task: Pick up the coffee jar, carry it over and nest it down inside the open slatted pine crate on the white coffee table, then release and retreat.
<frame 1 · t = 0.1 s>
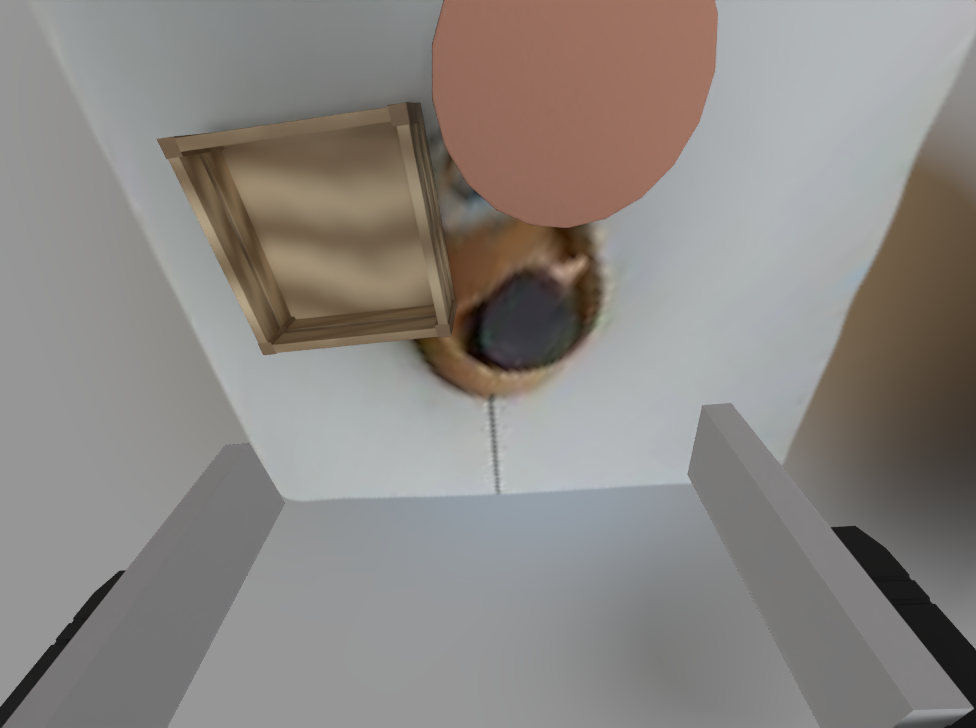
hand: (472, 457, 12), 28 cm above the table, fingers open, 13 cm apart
pine crate: (346, 229, 36), on the table
coffee jar: (532, 94, 30), on the table
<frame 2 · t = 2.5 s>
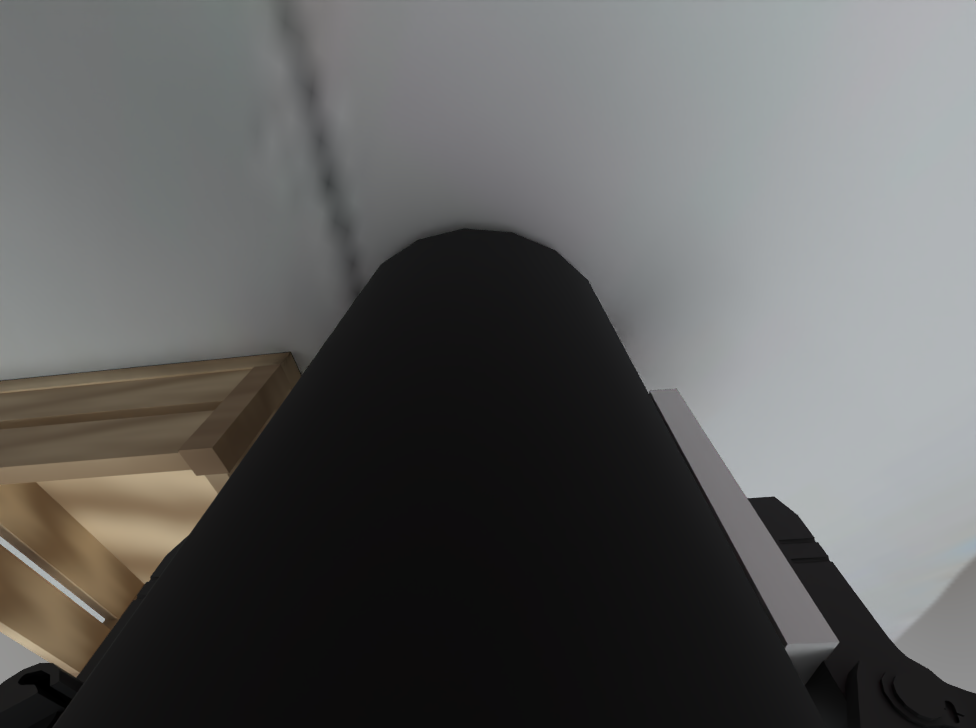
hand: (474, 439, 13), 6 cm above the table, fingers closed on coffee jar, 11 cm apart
pine crate: (206, 491, 23), on the table
coffee jar: (479, 342, 18), on the table, touching gripper
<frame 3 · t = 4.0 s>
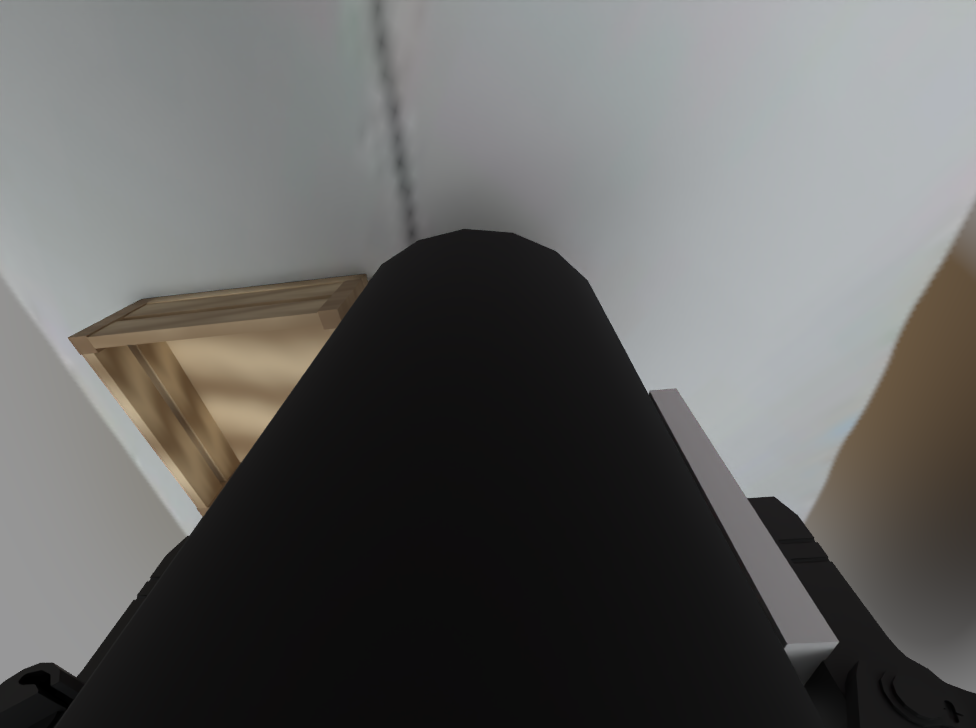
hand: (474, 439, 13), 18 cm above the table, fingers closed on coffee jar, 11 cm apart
pine crate: (294, 383, 33), on the table
coffee jar: (479, 342, 18), point 11 cm above the table, touching gripper
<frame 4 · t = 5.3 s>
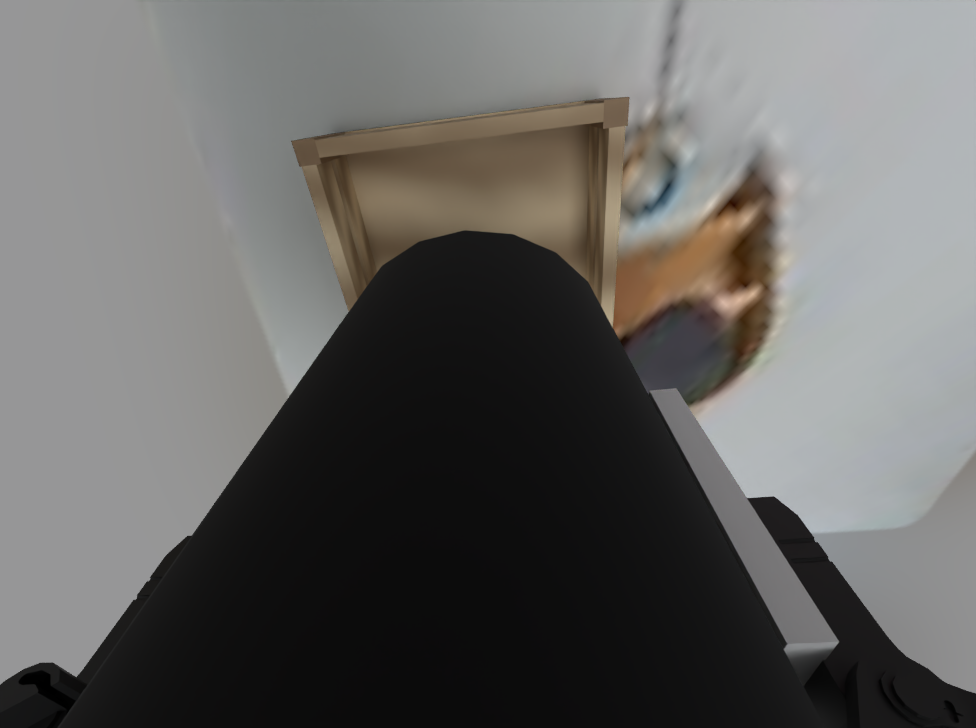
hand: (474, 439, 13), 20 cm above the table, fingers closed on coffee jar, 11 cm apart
pine crate: (479, 251, 30), on the table
coffee jar: (480, 343, 18), point 14 cm above the table, touching gripper
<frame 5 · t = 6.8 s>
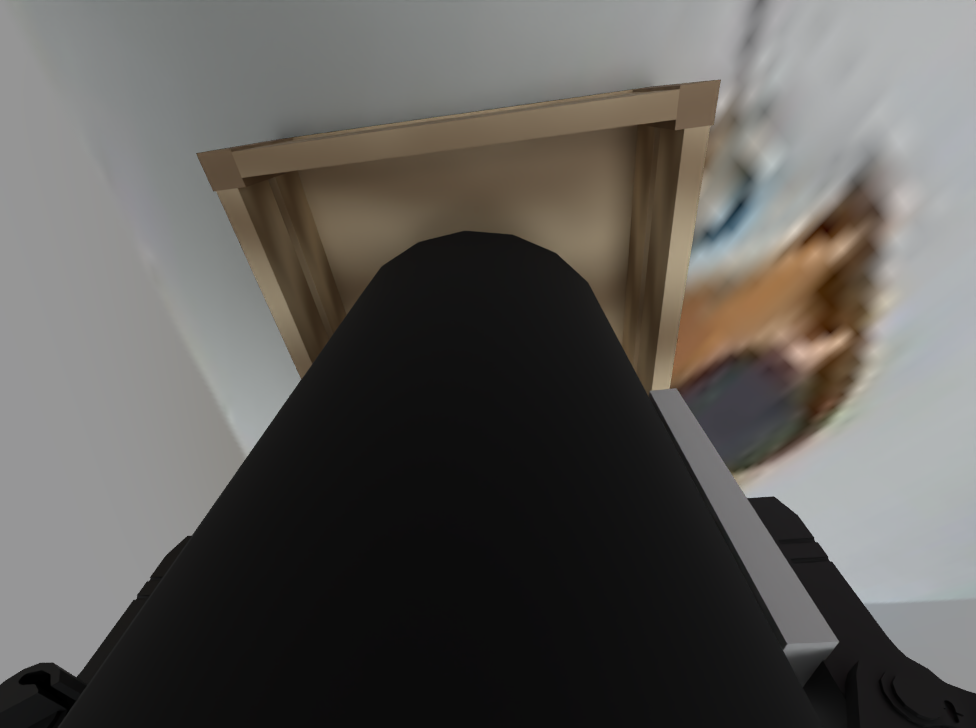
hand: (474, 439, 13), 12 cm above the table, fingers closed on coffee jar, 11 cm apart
pine crate: (483, 291, 23), on the table
coffee jar: (480, 343, 18), point 5 cm above the table, touching gripper
when the fingers open (9 cm above the table, at t = 8.0 s): coffee jar drops 2 cm, resting on pine crate.
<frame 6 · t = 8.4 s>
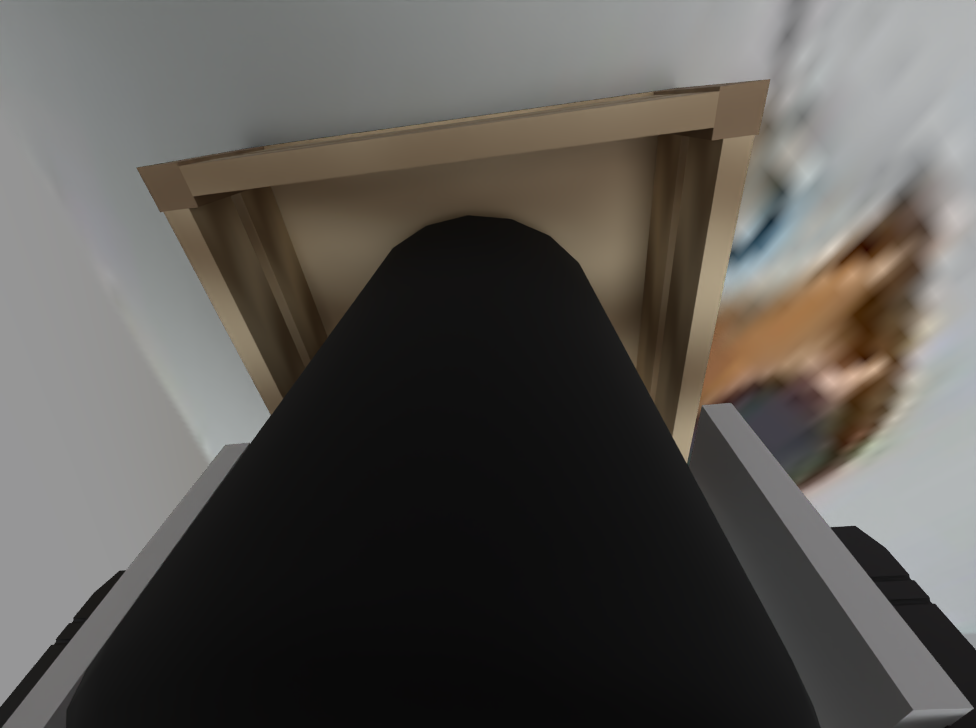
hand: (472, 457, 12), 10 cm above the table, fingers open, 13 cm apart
pine crate: (481, 315, 20), on the table
coffee jar: (481, 322, 20), point 1 cm above the table, touching pine crate
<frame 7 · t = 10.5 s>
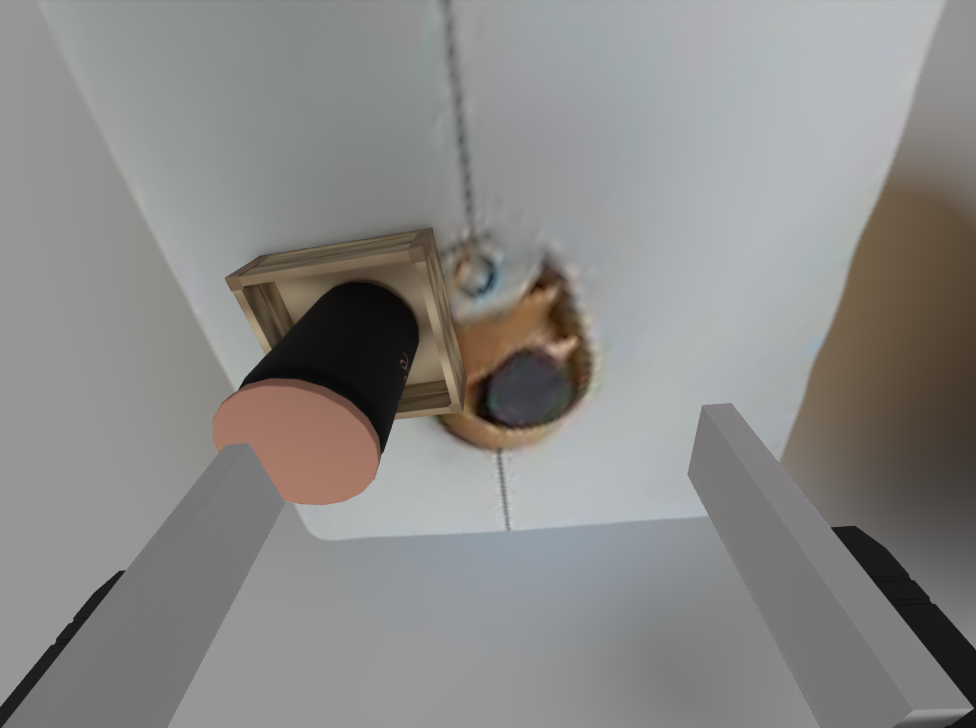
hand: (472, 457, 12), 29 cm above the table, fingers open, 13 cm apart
pine crate: (372, 322, 42), on the table
coffee jar: (370, 326, 42), point 1 cm above the table, touching pine crate
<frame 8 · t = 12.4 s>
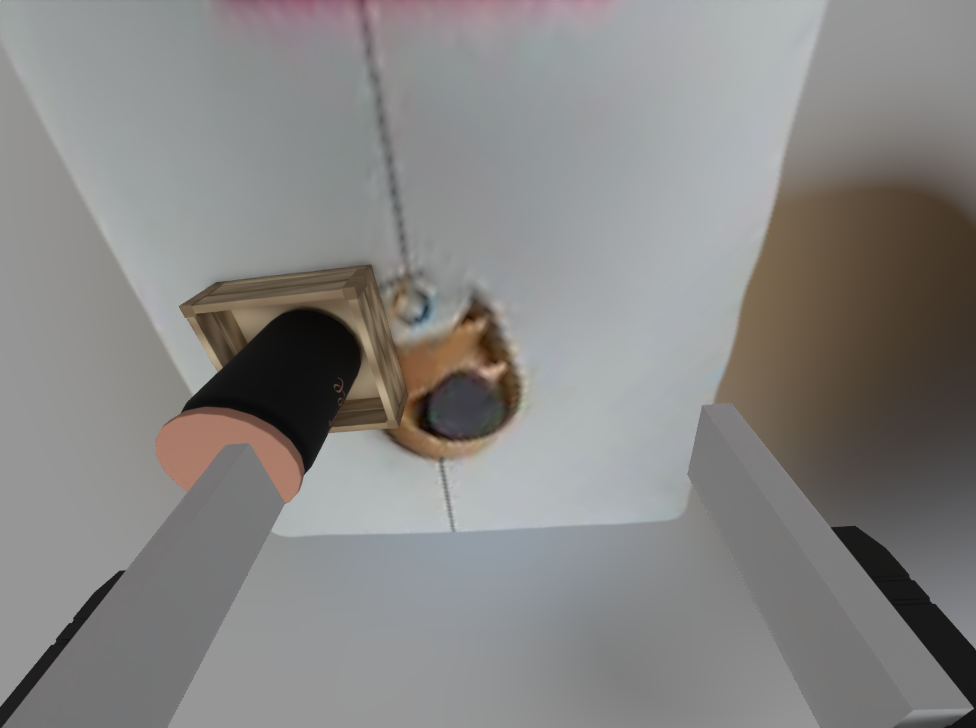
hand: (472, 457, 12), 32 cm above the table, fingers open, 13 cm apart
pine crate: (320, 343, 47), on the table
coffee jar: (317, 347, 46), point 1 cm above the table, touching pine crate
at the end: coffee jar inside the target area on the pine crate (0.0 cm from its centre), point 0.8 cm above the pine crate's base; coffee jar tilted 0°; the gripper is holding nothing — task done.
